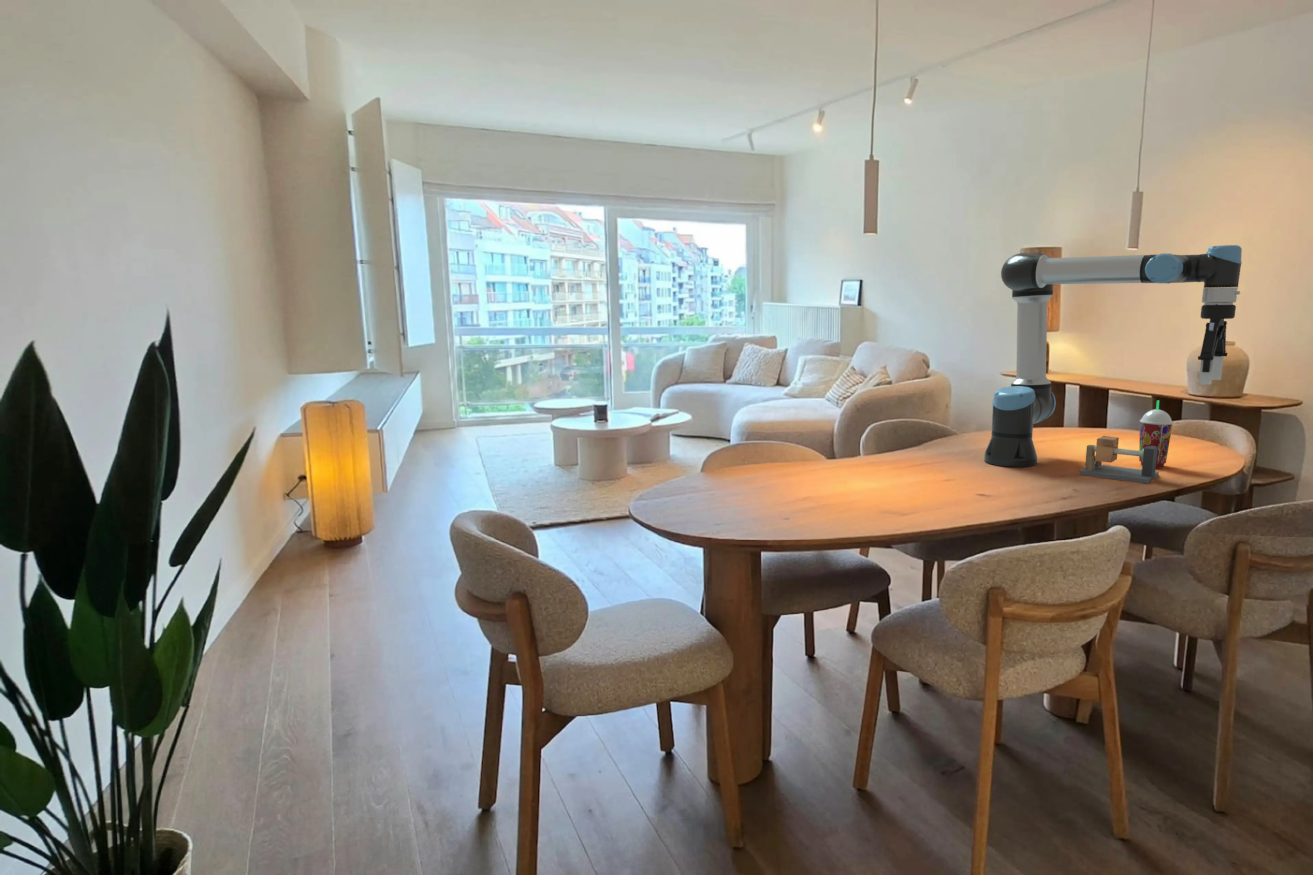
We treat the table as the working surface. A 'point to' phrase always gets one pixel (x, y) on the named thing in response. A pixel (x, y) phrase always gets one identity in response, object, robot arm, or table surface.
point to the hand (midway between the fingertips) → (1210, 382)
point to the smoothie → (1156, 433)
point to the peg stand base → (1123, 473)
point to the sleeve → (1106, 449)
